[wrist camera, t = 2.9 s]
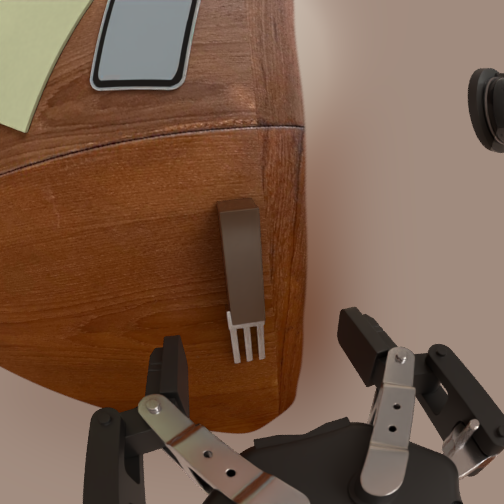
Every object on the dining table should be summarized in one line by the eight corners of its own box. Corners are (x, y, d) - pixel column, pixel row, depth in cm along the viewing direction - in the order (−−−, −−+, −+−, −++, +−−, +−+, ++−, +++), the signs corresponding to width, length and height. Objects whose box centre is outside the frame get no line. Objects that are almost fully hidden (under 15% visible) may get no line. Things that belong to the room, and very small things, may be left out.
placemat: (30, -53, 7) (28, -55, 6) (135, -51, 11) (134, -54, 11) (-54, 102, 12) (-57, 102, 11) (27, 132, 16) (24, 133, 16)
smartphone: (87, 91, 16) (130, -59, 10) (91, 92, 17) (131, -55, 11) (184, 90, 18) (217, -62, 12) (184, 91, 18) (217, -57, 13)
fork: (212, 201, 21) (214, 212, 19) (255, 197, 22) (264, 207, 19) (232, 357, 28) (236, 380, 25) (264, 352, 28) (271, 374, 25)
